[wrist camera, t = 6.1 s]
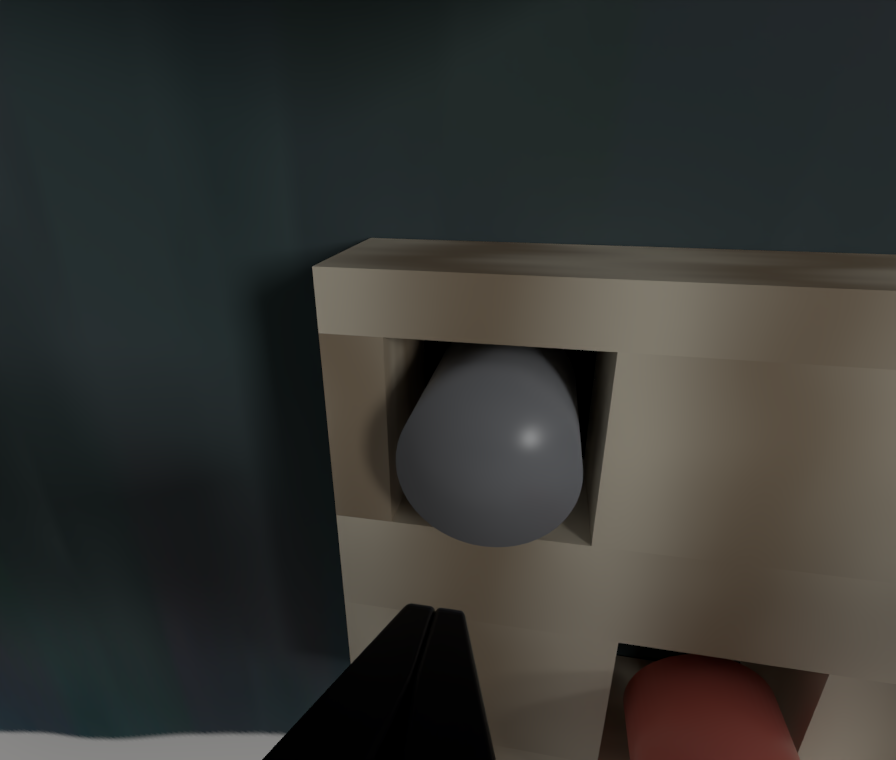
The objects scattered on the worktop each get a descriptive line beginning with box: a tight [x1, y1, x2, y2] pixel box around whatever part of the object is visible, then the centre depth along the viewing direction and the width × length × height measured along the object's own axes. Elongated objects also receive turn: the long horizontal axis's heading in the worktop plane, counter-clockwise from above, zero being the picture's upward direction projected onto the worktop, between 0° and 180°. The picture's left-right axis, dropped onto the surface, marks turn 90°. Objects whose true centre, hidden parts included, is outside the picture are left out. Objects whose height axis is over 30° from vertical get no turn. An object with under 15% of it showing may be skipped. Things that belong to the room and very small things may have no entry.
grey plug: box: [396, 342, 583, 547], centre depth 14 cm, size 4×4×4 cm
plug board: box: [312, 238, 896, 760], centre depth 15 cm, size 20×16×4 cm
